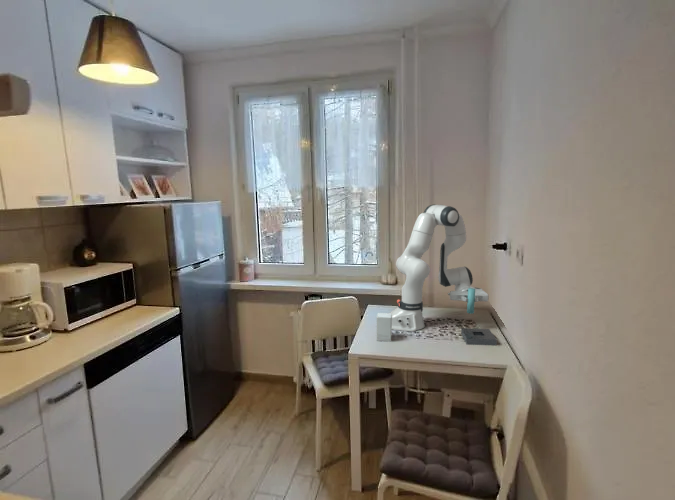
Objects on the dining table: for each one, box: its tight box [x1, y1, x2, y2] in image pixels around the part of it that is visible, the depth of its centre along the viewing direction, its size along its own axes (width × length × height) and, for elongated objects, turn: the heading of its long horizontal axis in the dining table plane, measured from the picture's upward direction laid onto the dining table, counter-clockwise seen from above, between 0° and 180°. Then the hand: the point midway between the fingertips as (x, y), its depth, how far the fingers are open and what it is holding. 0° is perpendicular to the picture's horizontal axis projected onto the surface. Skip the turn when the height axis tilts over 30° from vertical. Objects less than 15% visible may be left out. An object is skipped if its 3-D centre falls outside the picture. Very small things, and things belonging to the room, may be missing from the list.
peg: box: [466, 288, 476, 315], centre depth 201 cm, size 4×4×13 cm
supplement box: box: [376, 312, 393, 343], centre depth 193 cm, size 7×7×13 cm
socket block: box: [460, 327, 498, 346], centre depth 190 cm, size 14×14×3 cm
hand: (471, 300), depth 200 cm, fingers closed on peg, 4 cm apart
